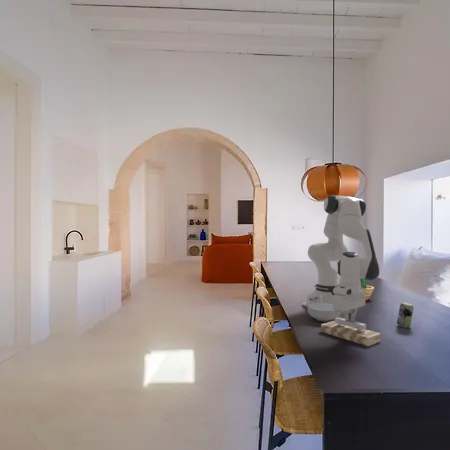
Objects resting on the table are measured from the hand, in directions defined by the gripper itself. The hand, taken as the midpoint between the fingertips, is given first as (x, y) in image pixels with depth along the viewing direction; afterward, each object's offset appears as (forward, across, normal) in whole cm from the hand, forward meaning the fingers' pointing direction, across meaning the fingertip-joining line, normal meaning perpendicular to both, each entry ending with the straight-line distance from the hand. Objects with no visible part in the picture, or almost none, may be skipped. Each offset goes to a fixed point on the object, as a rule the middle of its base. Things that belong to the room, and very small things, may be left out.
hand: (349, 318), depth 160 cm
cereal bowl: (+8, -13, -24) cm, 28 cm away
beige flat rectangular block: (+8, 0, 0) cm, 8 cm away
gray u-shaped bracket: (+7, 0, 0) cm, 7 cm away
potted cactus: (+8, -75, -40) cm, 85 cm away
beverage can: (+8, -35, +8) cm, 37 cm away
